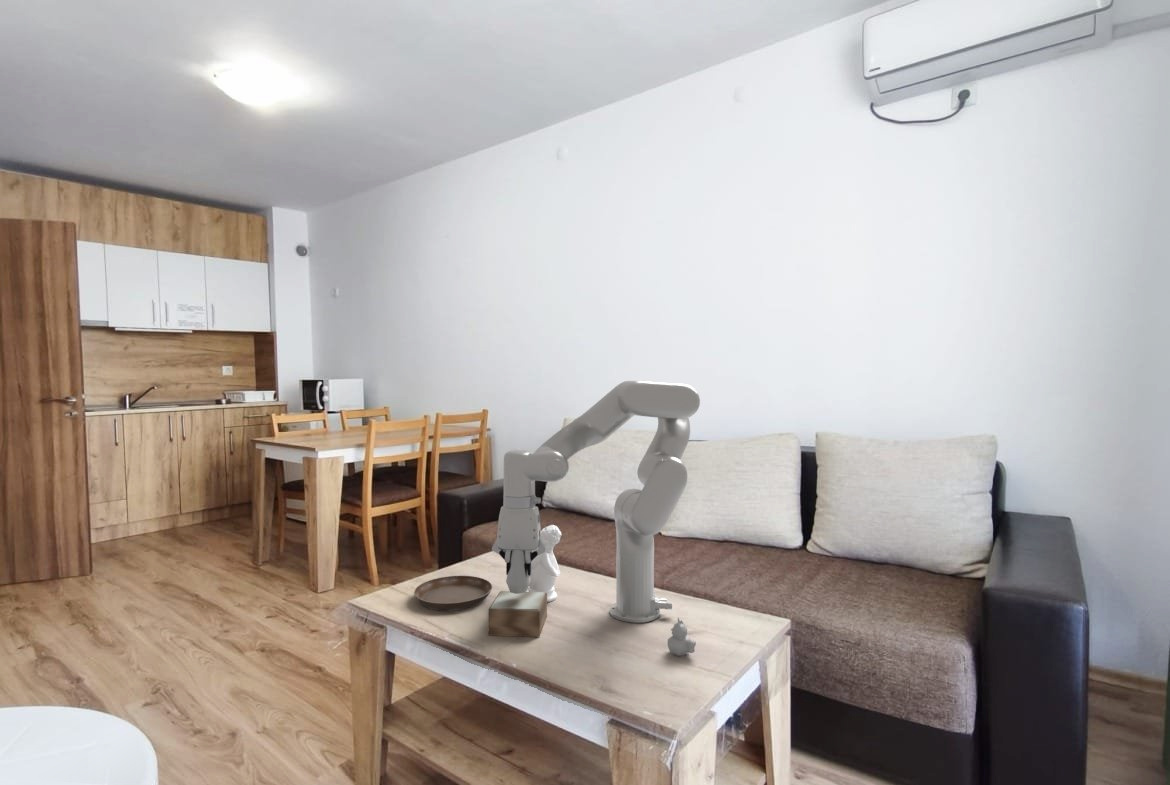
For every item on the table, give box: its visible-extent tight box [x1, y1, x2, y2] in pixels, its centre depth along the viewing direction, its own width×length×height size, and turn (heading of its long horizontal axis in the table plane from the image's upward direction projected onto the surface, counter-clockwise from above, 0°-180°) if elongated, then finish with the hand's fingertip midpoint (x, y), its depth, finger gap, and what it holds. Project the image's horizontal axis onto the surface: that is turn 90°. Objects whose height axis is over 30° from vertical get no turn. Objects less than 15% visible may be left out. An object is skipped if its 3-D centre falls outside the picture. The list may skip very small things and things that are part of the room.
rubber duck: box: [667, 617, 697, 657], centre depth 128 cm, size 5×7×8 cm
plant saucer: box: [413, 575, 493, 612], centre depth 161 cm, size 21×21×3 cm
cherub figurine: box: [527, 524, 562, 603], centre depth 161 cm, size 12×12×22 cm
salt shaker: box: [505, 544, 531, 594], centre depth 143 cm, size 6×6×13 cm
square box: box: [487, 590, 548, 638], centre depth 143 cm, size 12×12×6 cm
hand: (518, 577), depth 143 cm, fingers closed on salt shaker, 3 cm apart
